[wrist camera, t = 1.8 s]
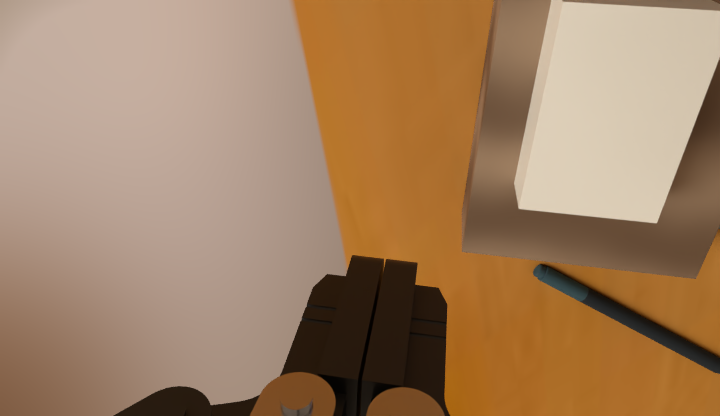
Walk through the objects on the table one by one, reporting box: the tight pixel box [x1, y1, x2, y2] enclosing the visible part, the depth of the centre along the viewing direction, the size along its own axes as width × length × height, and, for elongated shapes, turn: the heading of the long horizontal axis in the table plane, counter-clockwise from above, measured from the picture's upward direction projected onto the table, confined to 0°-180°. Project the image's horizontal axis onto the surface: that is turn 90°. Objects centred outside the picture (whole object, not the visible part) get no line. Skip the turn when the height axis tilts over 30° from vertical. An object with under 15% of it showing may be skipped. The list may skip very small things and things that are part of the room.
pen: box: [533, 264, 720, 374], centre depth 34 cm, size 1×16×1 cm, turn 63°
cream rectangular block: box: [514, 0, 720, 223], centre depth 23 cm, size 9×6×2 cm, turn 178°
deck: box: [462, 0, 720, 279], centre depth 25 cm, size 18×12×4 cm, turn 178°
